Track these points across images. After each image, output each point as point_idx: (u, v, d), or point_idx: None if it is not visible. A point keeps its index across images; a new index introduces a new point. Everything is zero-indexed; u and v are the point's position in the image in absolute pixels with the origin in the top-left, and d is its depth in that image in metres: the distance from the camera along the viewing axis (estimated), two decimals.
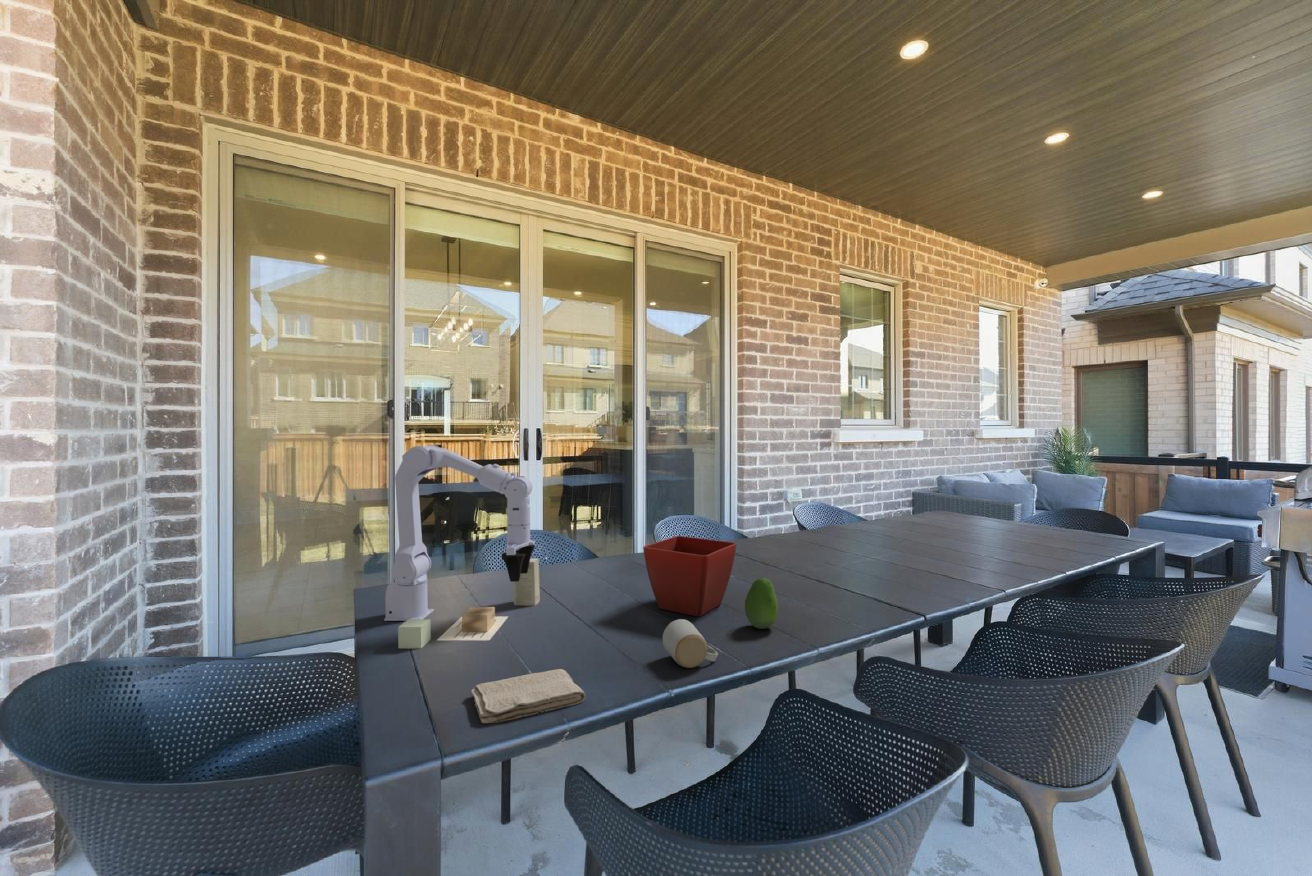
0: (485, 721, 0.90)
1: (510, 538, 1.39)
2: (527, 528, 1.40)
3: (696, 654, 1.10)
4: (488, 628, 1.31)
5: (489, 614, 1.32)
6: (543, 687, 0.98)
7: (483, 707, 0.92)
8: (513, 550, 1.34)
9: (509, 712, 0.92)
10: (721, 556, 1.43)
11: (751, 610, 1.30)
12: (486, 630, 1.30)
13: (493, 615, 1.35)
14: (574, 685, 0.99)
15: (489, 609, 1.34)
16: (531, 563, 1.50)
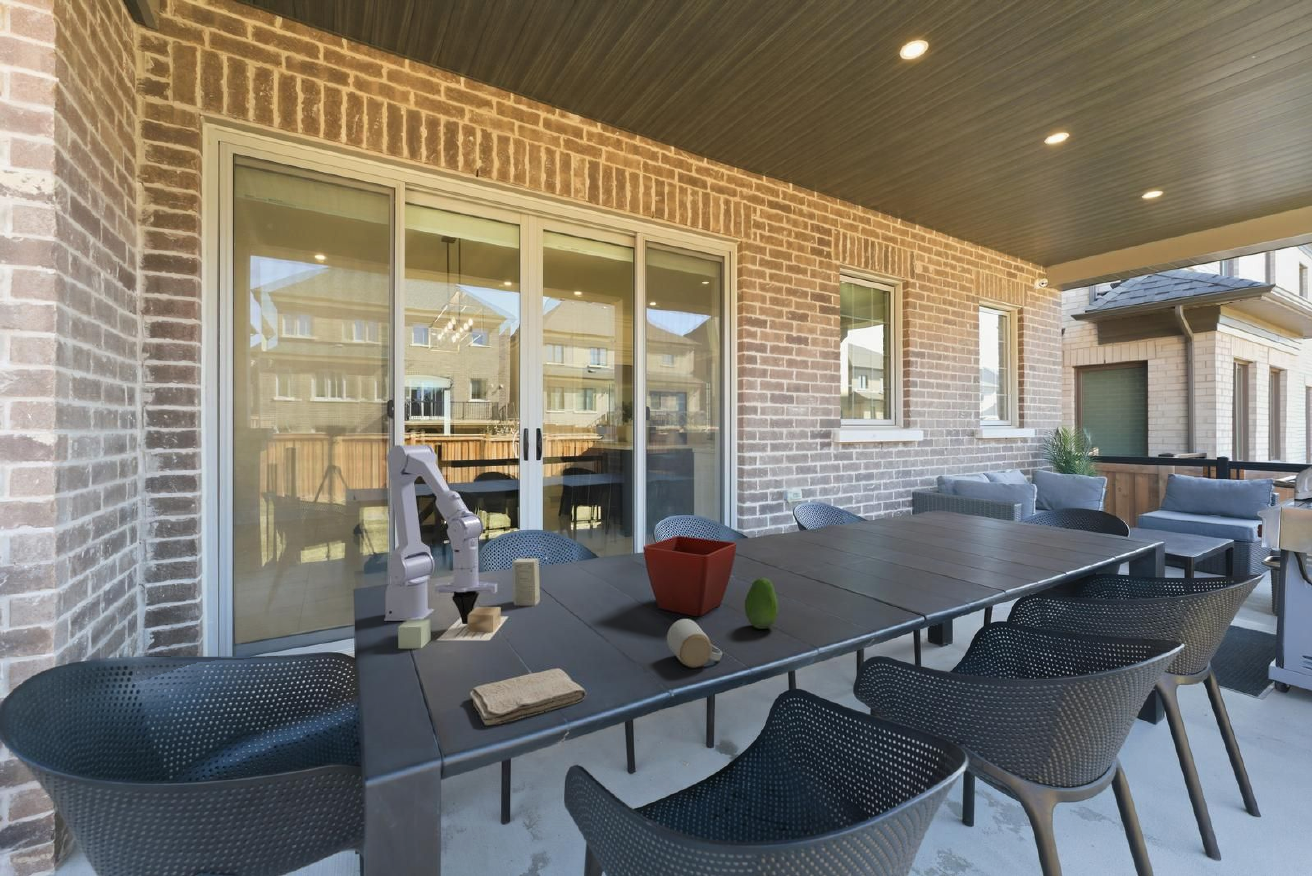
0: (488, 723, 0.89)
1: None
2: (456, 572, 1.30)
3: (701, 654, 1.10)
4: (494, 628, 1.31)
5: (495, 614, 1.32)
6: (543, 687, 0.98)
7: (485, 709, 0.92)
8: None
9: (512, 713, 0.92)
10: (721, 556, 1.43)
11: (751, 610, 1.30)
12: (492, 630, 1.30)
13: (499, 615, 1.35)
14: (574, 684, 0.99)
15: (495, 609, 1.34)
16: (531, 563, 1.50)
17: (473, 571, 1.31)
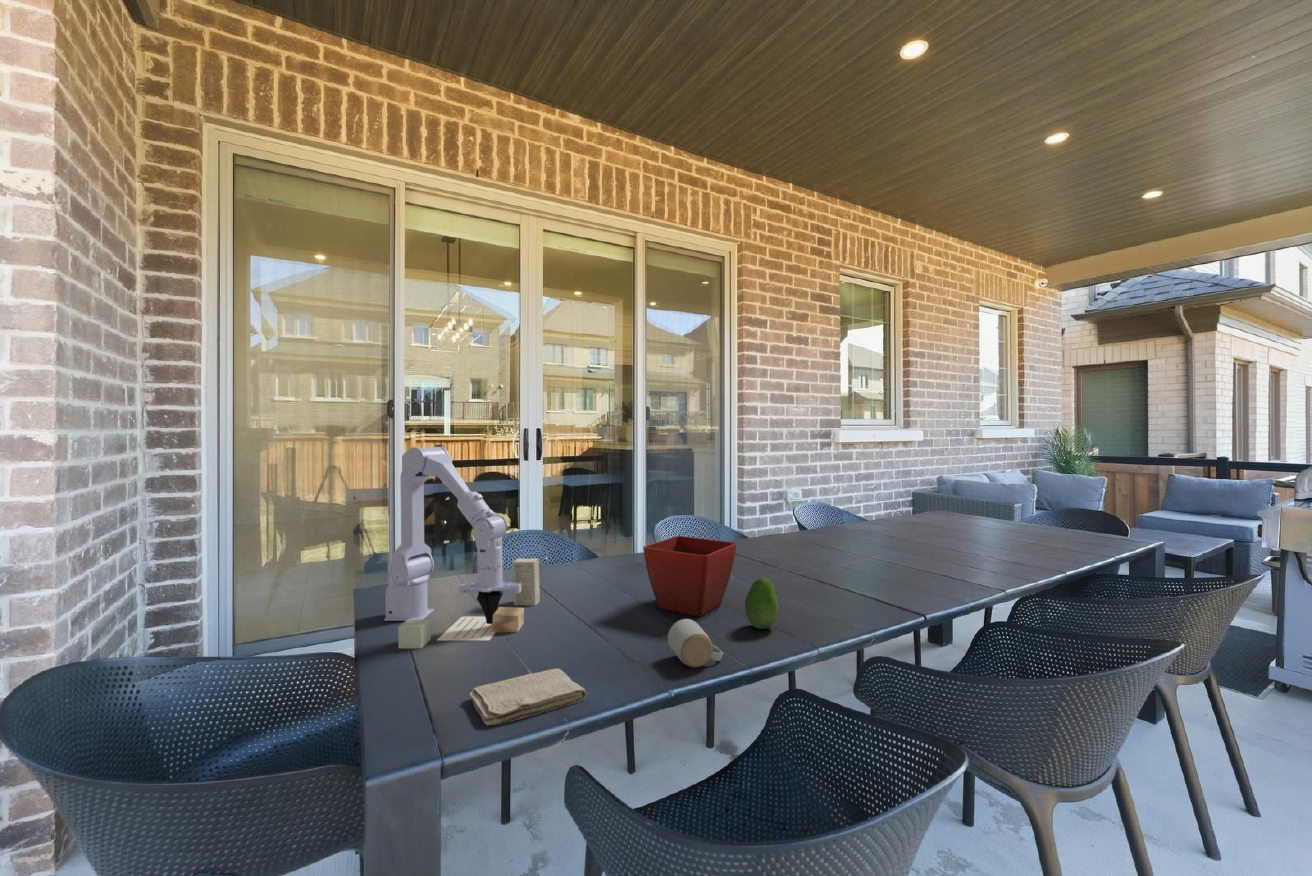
0: (489, 723, 0.89)
1: None
2: (481, 572, 1.30)
3: (702, 654, 1.10)
4: (518, 629, 1.31)
5: (520, 615, 1.32)
6: (543, 687, 0.98)
7: (486, 709, 0.91)
8: None
9: (513, 713, 0.91)
10: (721, 556, 1.43)
11: (751, 610, 1.30)
12: (517, 631, 1.30)
13: (522, 616, 1.35)
14: (574, 683, 0.99)
15: (519, 610, 1.34)
16: (531, 563, 1.50)
17: (498, 571, 1.31)
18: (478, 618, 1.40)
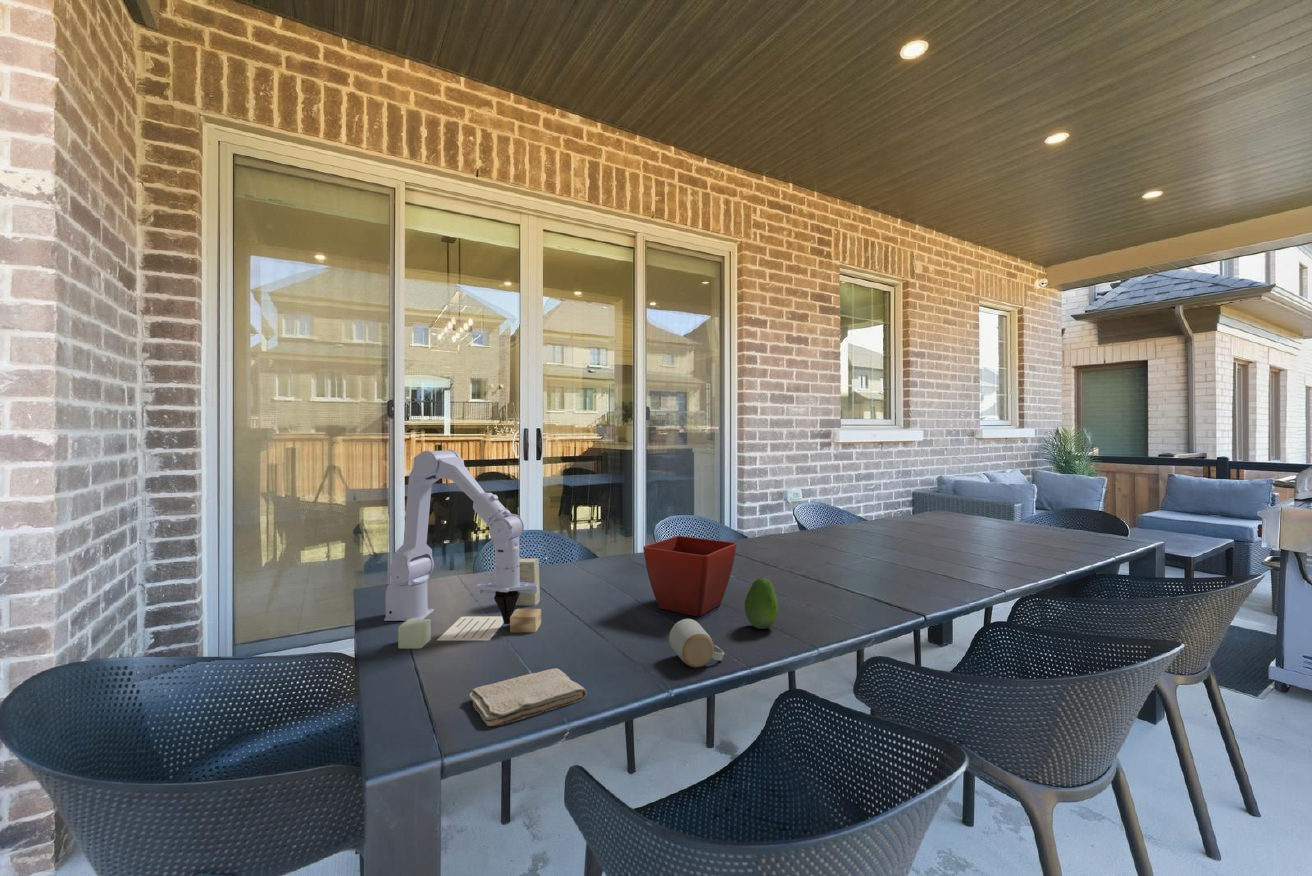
0: (491, 724, 0.89)
1: None
2: (499, 572, 1.30)
3: (703, 654, 1.10)
4: (536, 630, 1.31)
5: (537, 616, 1.32)
6: (544, 687, 0.98)
7: (487, 710, 0.91)
8: None
9: (514, 713, 0.91)
10: (721, 556, 1.43)
11: (751, 610, 1.30)
12: None
13: (540, 617, 1.35)
14: (574, 683, 1.00)
15: (536, 611, 1.34)
16: (531, 563, 1.50)
17: (515, 571, 1.31)
18: (478, 618, 1.40)
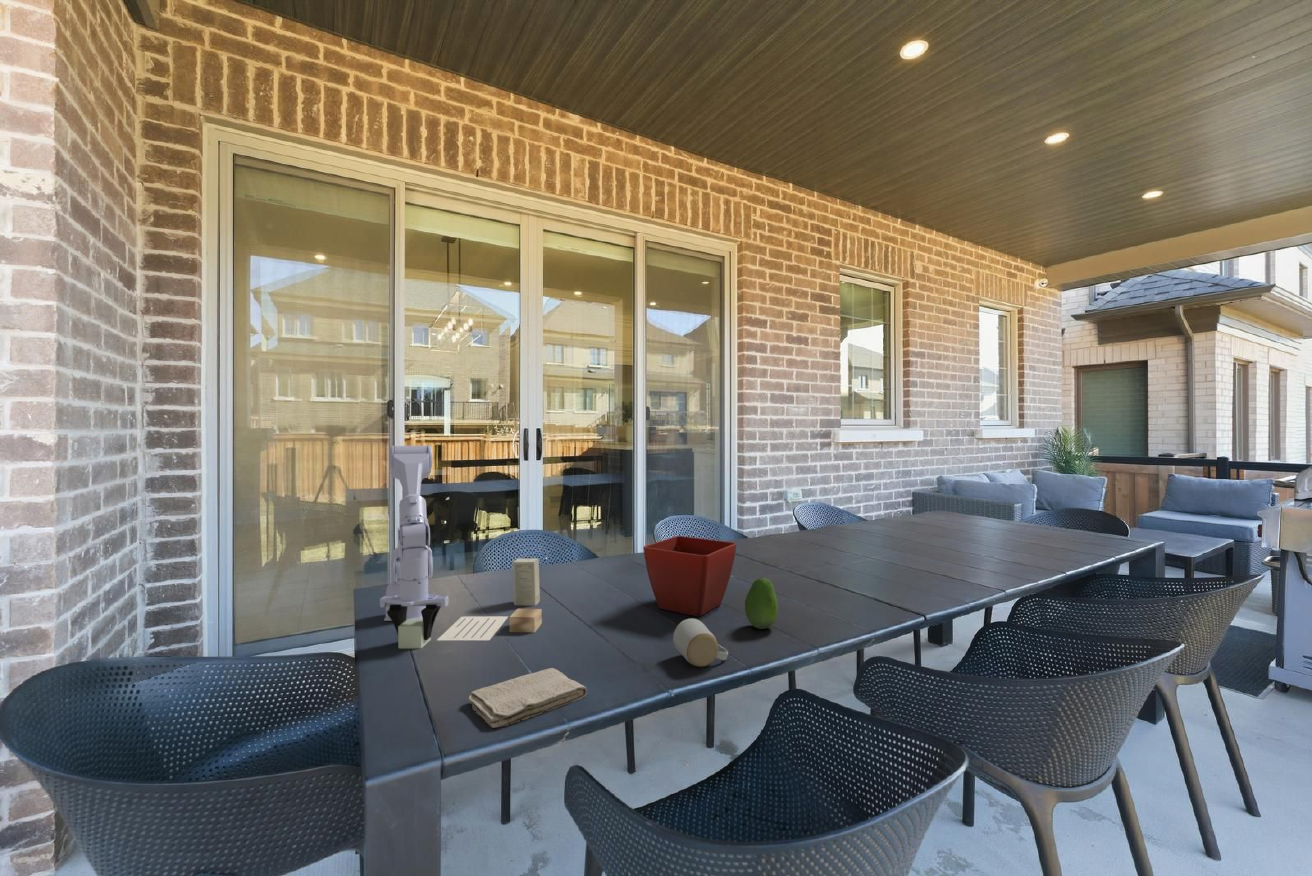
0: (496, 725, 0.89)
1: None
2: (403, 584, 1.20)
3: (707, 653, 1.11)
4: (535, 630, 1.31)
5: (536, 616, 1.32)
6: (544, 686, 0.98)
7: (490, 712, 0.91)
8: None
9: (518, 714, 0.91)
10: (721, 556, 1.43)
11: (751, 610, 1.30)
12: (533, 632, 1.30)
13: (540, 617, 1.35)
14: (574, 681, 1.00)
15: (536, 611, 1.34)
16: (531, 563, 1.50)
17: (421, 583, 1.22)
18: (478, 618, 1.40)
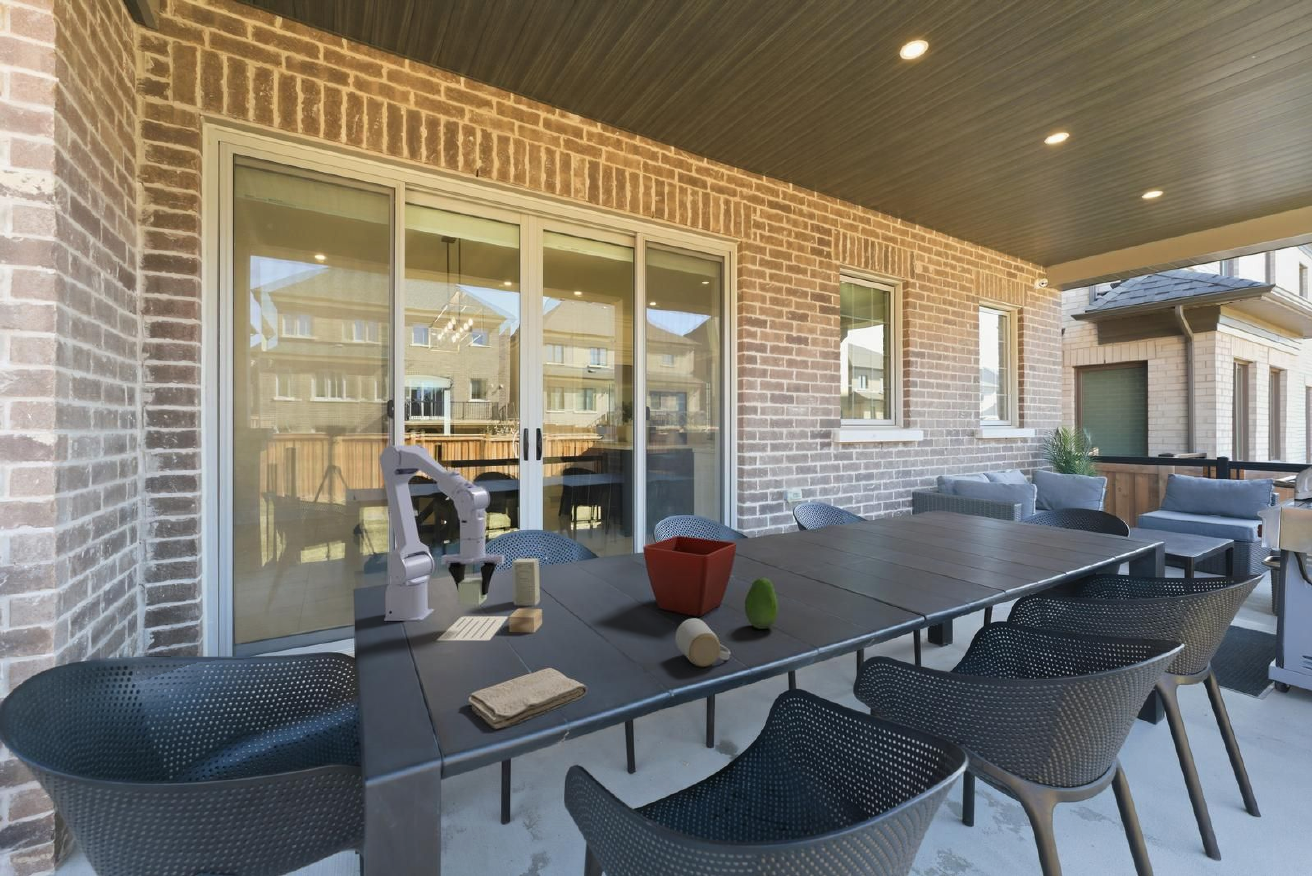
0: (499, 726, 0.88)
1: None
2: (463, 543, 1.30)
3: (710, 653, 1.11)
4: (535, 630, 1.31)
5: (536, 616, 1.32)
6: (544, 686, 0.98)
7: (492, 713, 0.90)
8: None
9: (520, 714, 0.91)
10: (721, 556, 1.43)
11: (751, 610, 1.30)
12: (533, 632, 1.30)
13: (540, 617, 1.35)
14: (573, 680, 1.01)
15: (536, 611, 1.34)
16: (531, 563, 1.50)
17: (480, 542, 1.31)
18: (478, 618, 1.40)
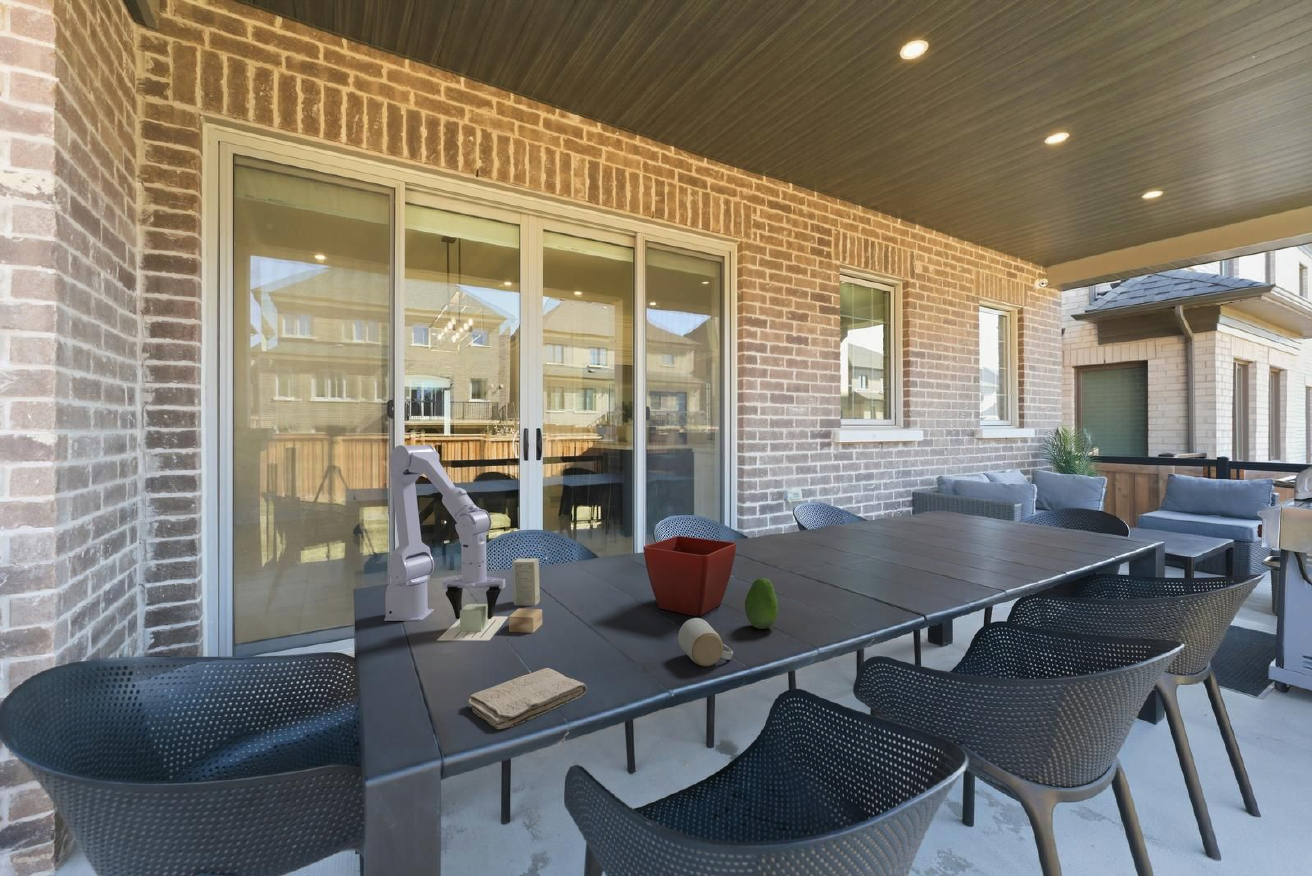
0: (502, 727, 0.88)
1: None
2: (465, 567, 1.30)
3: (712, 653, 1.11)
4: (534, 630, 1.31)
5: (536, 616, 1.31)
6: (544, 686, 0.98)
7: (494, 714, 0.90)
8: None
9: (522, 714, 0.91)
10: (721, 556, 1.43)
11: (751, 610, 1.30)
12: (532, 632, 1.30)
13: (540, 617, 1.35)
14: (573, 680, 1.01)
15: (536, 611, 1.34)
16: (531, 563, 1.50)
17: (481, 566, 1.31)
18: None
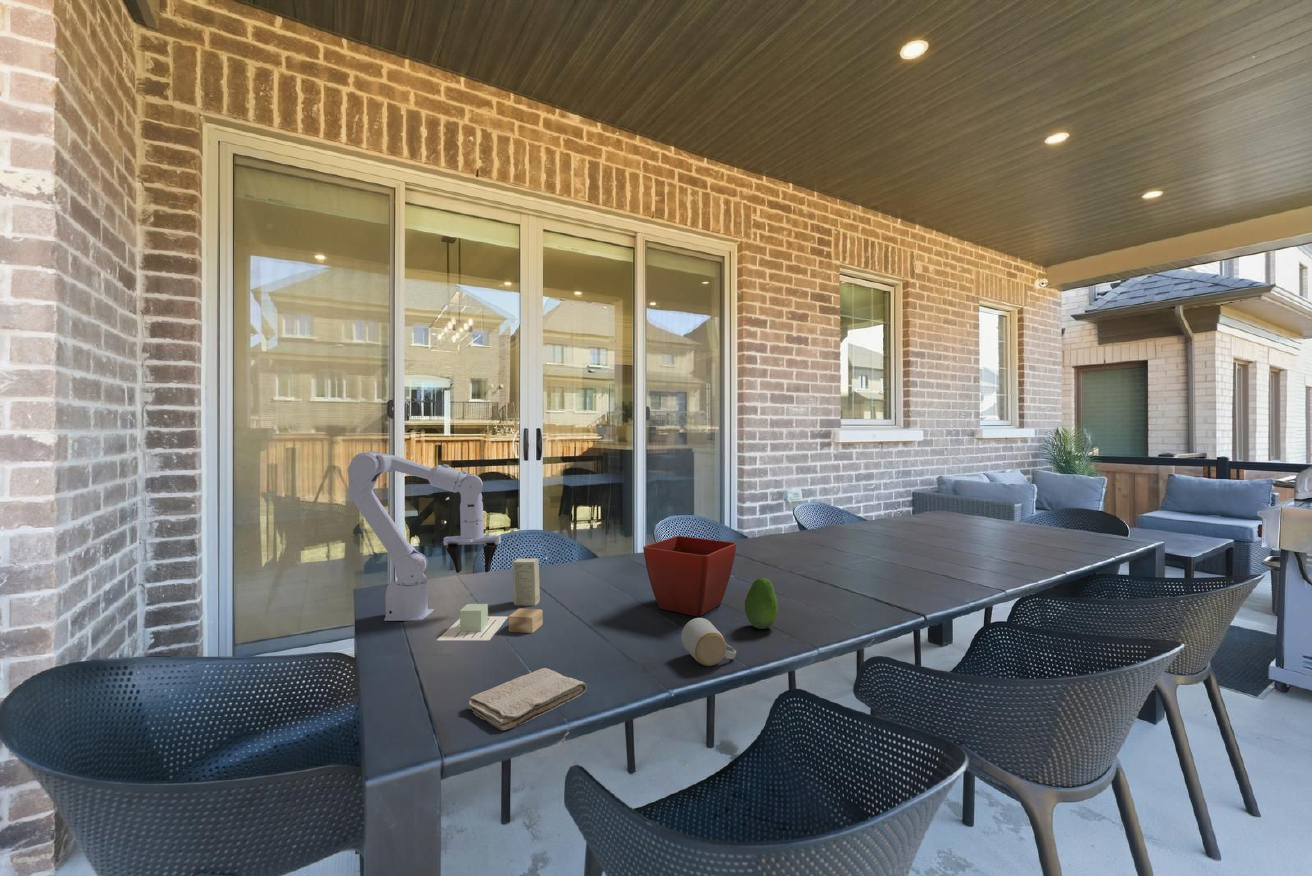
0: (506, 727, 0.88)
1: None
2: (464, 525, 1.43)
3: (716, 652, 1.11)
4: None
5: (535, 617, 1.31)
6: (544, 686, 0.98)
7: (497, 715, 0.90)
8: None
9: (525, 714, 0.91)
10: (721, 556, 1.43)
11: (751, 610, 1.30)
12: None
13: (540, 618, 1.34)
14: (572, 679, 1.01)
15: (536, 612, 1.34)
16: (531, 563, 1.50)
17: (479, 524, 1.44)
18: None
